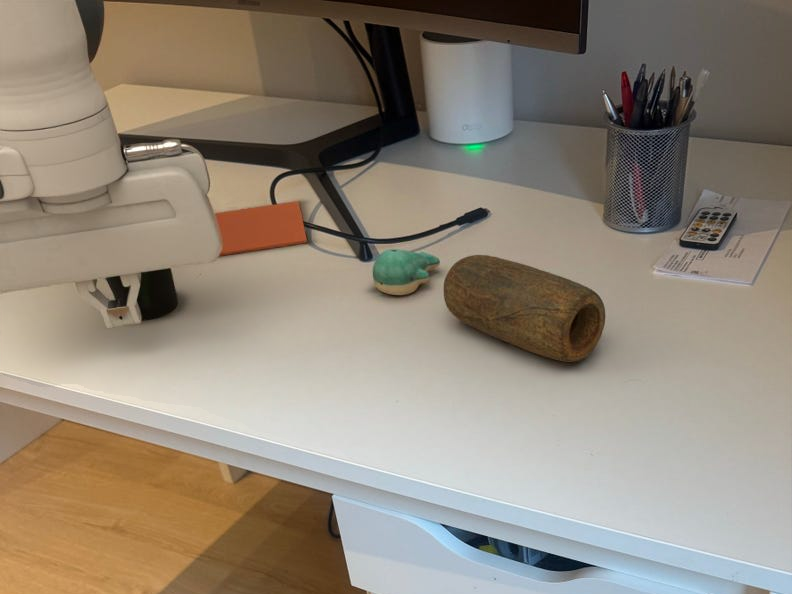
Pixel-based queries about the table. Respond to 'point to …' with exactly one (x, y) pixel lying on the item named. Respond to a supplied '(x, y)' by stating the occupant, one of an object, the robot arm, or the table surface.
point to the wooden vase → (525, 306)
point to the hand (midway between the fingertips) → (124, 322)
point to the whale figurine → (402, 270)
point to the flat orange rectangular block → (261, 228)
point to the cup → (150, 292)
